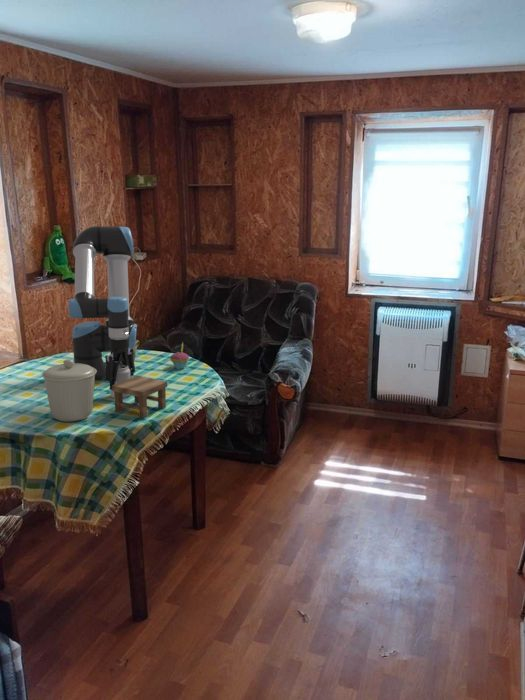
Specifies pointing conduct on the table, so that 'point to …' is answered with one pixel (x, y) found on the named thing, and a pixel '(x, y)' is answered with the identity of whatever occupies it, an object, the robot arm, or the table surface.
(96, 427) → the table surface
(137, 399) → the stool
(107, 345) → the robot arm
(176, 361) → the cupcake
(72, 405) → the canister
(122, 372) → the can
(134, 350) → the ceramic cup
